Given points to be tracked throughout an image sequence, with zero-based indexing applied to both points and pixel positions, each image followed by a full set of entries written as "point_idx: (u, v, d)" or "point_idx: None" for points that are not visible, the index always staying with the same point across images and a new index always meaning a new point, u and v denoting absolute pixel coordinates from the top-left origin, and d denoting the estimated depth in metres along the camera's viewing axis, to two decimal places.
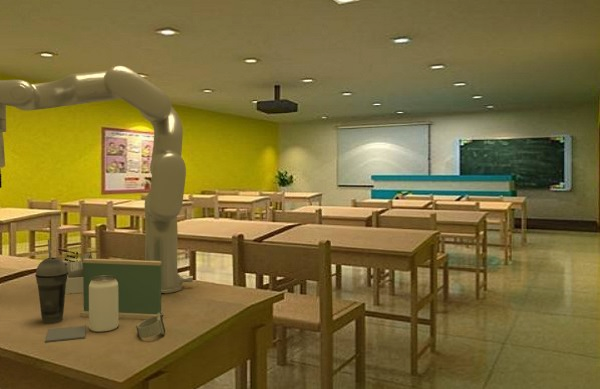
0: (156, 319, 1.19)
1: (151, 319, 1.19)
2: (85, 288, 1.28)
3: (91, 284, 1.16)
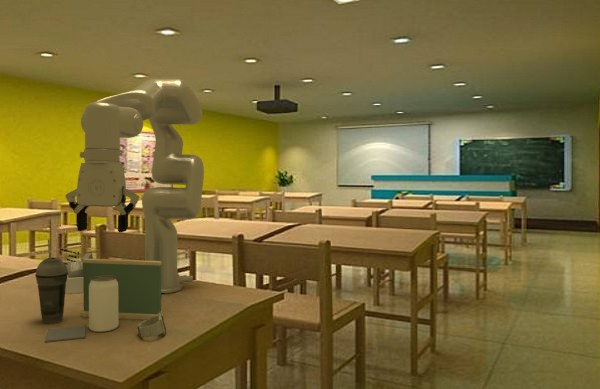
0: (157, 319, 1.19)
1: (152, 319, 1.19)
2: (85, 288, 1.28)
3: (91, 284, 1.16)
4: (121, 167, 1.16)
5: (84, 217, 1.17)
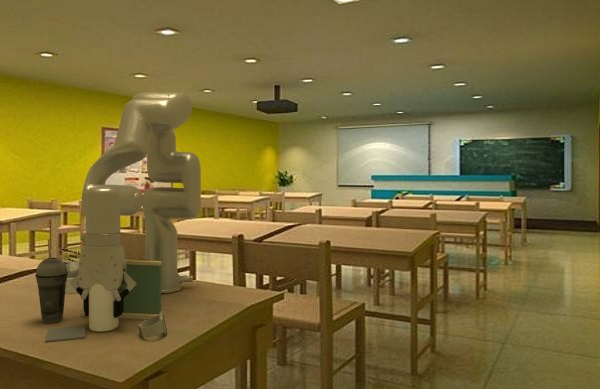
0: (157, 319, 1.19)
1: (152, 319, 1.19)
2: None
3: None
4: (122, 250, 1.17)
5: None
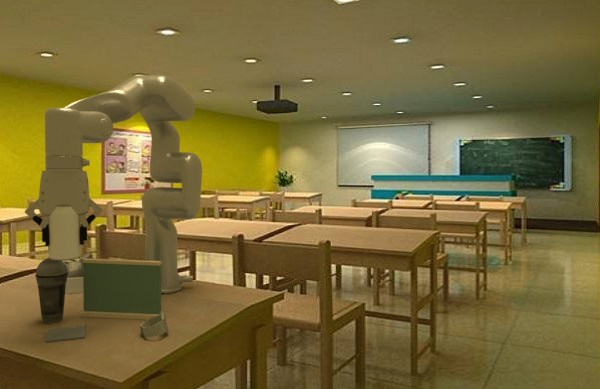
0: (158, 318, 1.19)
1: (153, 318, 1.19)
2: (85, 288, 1.28)
3: None
4: (41, 174, 1.10)
5: None
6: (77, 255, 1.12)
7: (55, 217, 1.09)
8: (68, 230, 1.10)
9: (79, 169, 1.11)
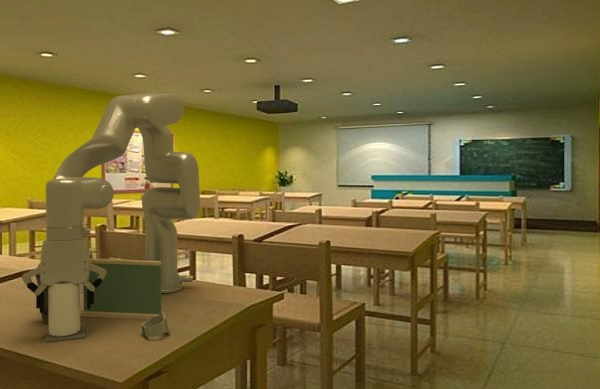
0: (159, 318, 1.20)
1: (154, 318, 1.20)
2: (85, 288, 1.28)
3: None
4: (42, 245, 1.11)
5: None
6: (77, 330, 1.13)
7: (55, 295, 1.10)
8: (68, 307, 1.11)
9: (80, 239, 1.12)
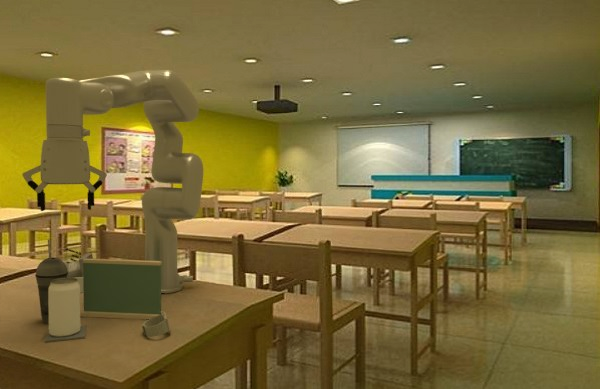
0: (159, 318, 1.20)
1: (154, 318, 1.20)
2: (85, 288, 1.28)
3: None
4: (42, 144, 1.11)
5: None
6: (77, 330, 1.13)
7: (55, 295, 1.10)
8: (68, 307, 1.11)
9: (80, 139, 1.13)
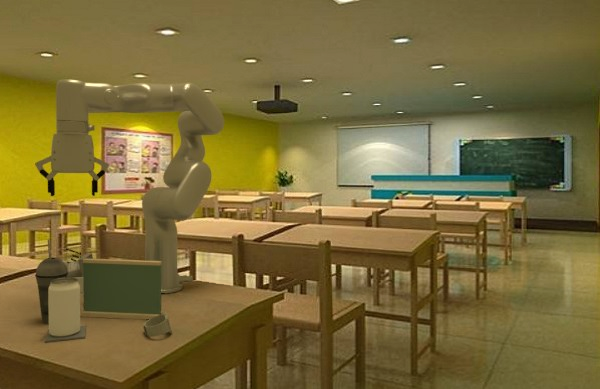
0: (160, 318, 1.20)
1: (155, 318, 1.20)
2: (85, 288, 1.28)
3: None
4: (53, 137, 1.27)
5: None
6: (77, 330, 1.13)
7: (55, 295, 1.10)
8: (68, 307, 1.11)
9: (85, 133, 1.28)
